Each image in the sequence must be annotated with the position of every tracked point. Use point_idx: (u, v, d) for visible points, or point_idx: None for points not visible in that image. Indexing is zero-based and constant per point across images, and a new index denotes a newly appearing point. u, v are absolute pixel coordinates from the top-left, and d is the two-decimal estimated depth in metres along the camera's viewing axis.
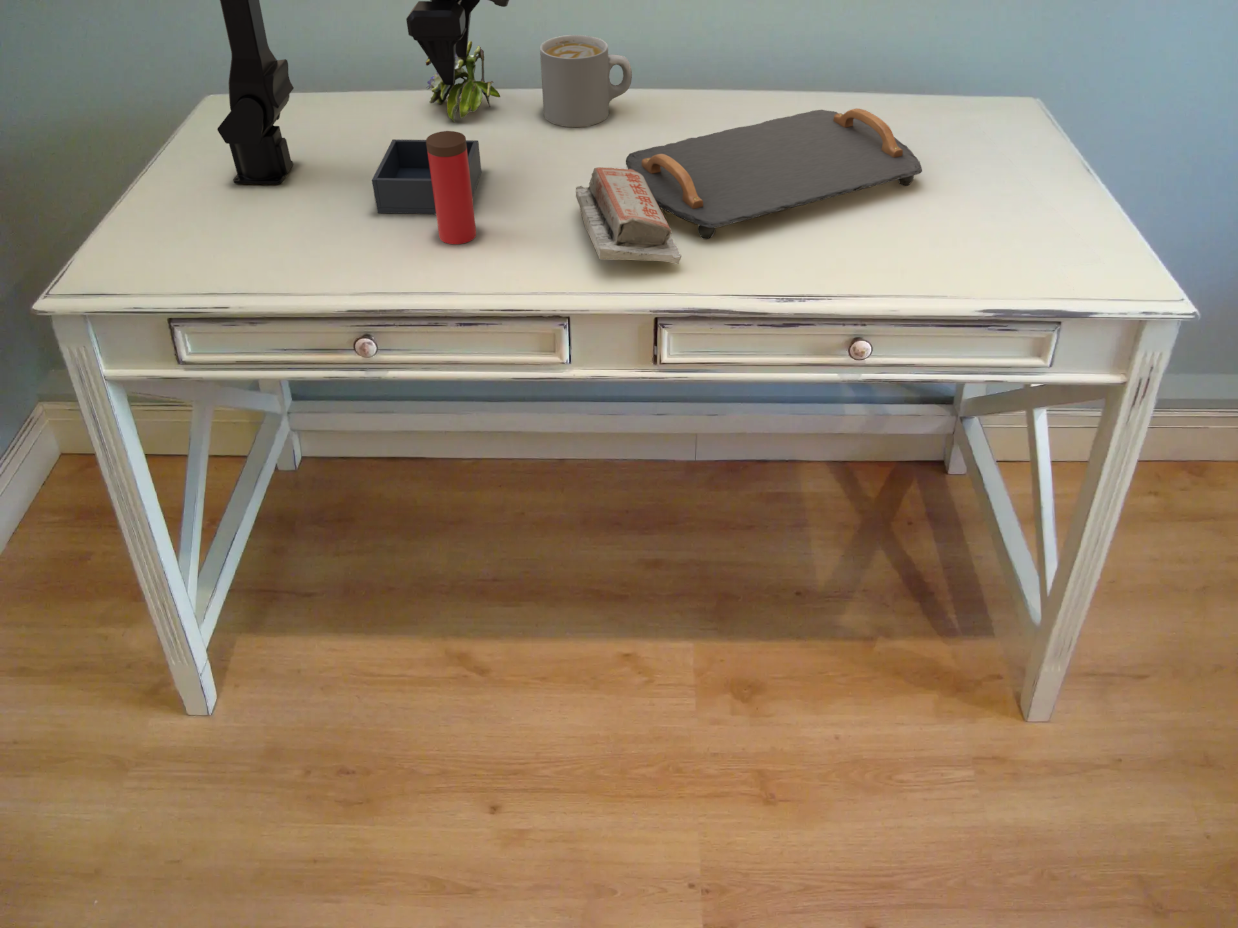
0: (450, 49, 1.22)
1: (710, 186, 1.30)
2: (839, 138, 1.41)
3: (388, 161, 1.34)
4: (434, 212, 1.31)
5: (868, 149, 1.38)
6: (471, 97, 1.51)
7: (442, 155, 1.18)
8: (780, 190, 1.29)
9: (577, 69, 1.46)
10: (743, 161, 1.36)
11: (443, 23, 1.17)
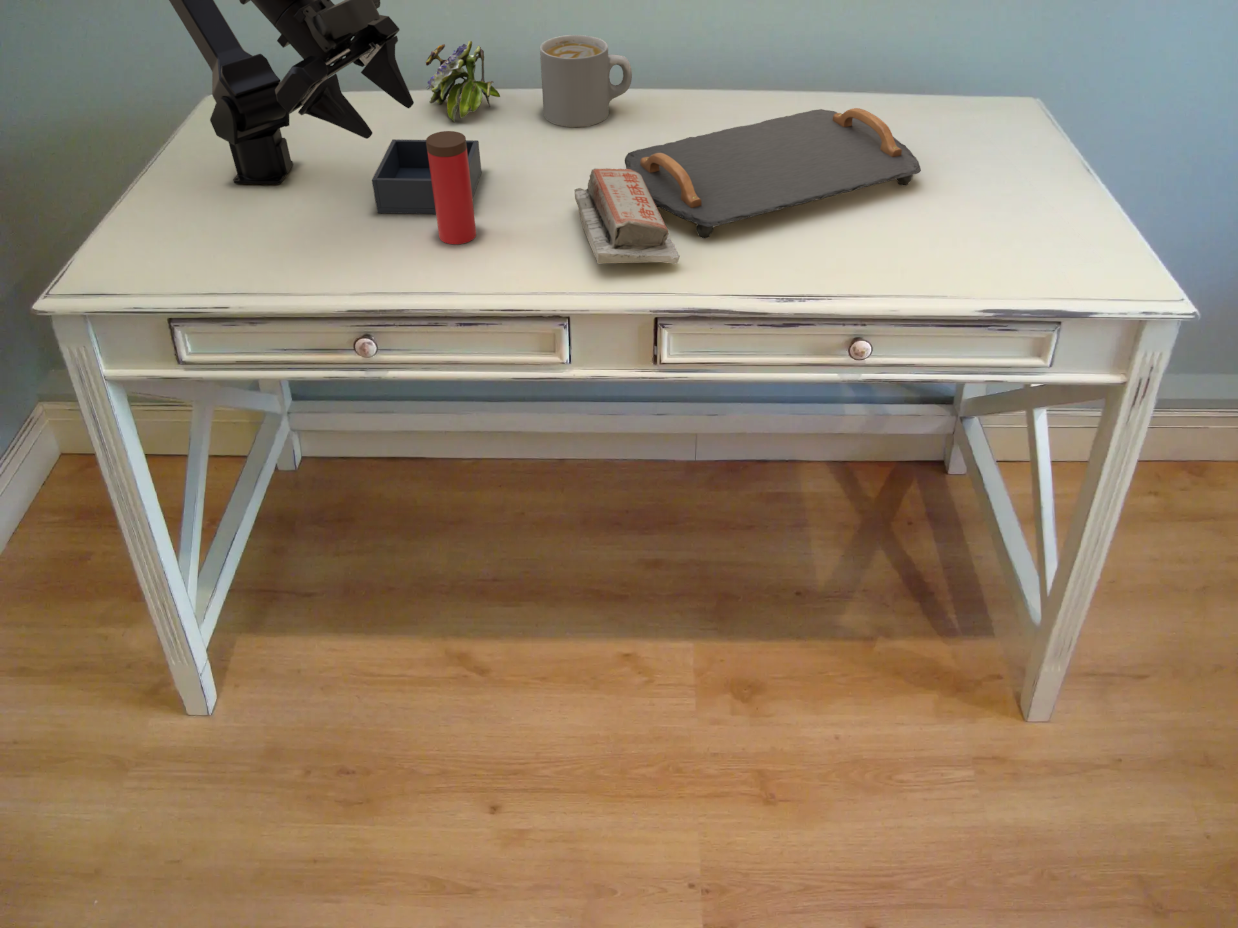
0: (335, 102, 1.15)
1: (708, 185, 1.31)
2: (838, 137, 1.41)
3: (388, 161, 1.34)
4: (434, 212, 1.31)
5: (867, 148, 1.38)
6: (471, 97, 1.51)
7: (442, 155, 1.18)
8: (778, 189, 1.29)
9: (577, 69, 1.46)
10: (742, 160, 1.36)
11: (293, 82, 1.11)
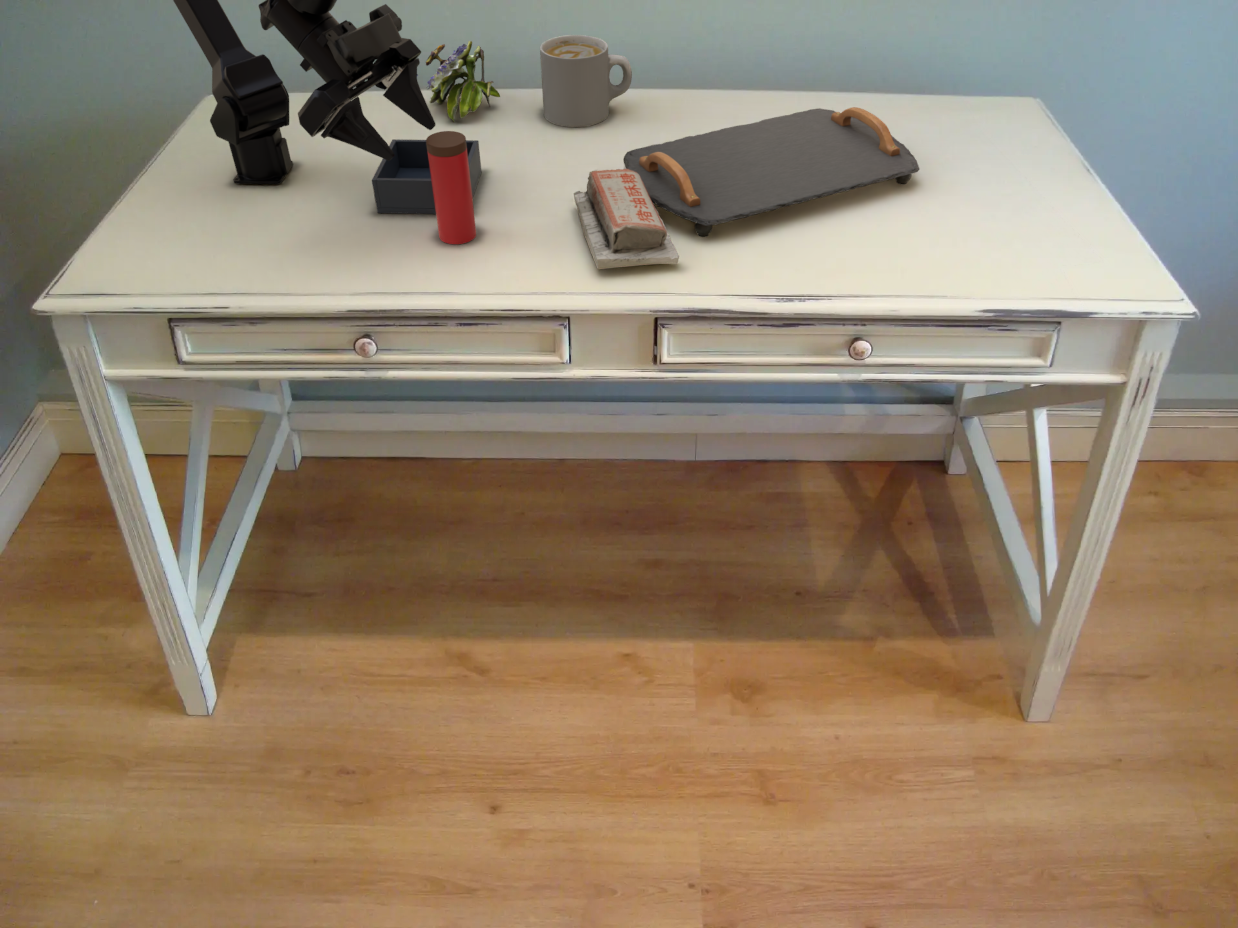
0: (358, 125, 1.15)
1: (707, 184, 1.31)
2: (837, 137, 1.41)
3: (388, 161, 1.34)
4: (434, 212, 1.31)
5: (865, 147, 1.39)
6: (471, 97, 1.51)
7: (442, 155, 1.18)
8: (777, 188, 1.30)
9: (577, 69, 1.46)
10: (740, 159, 1.36)
11: (316, 105, 1.11)
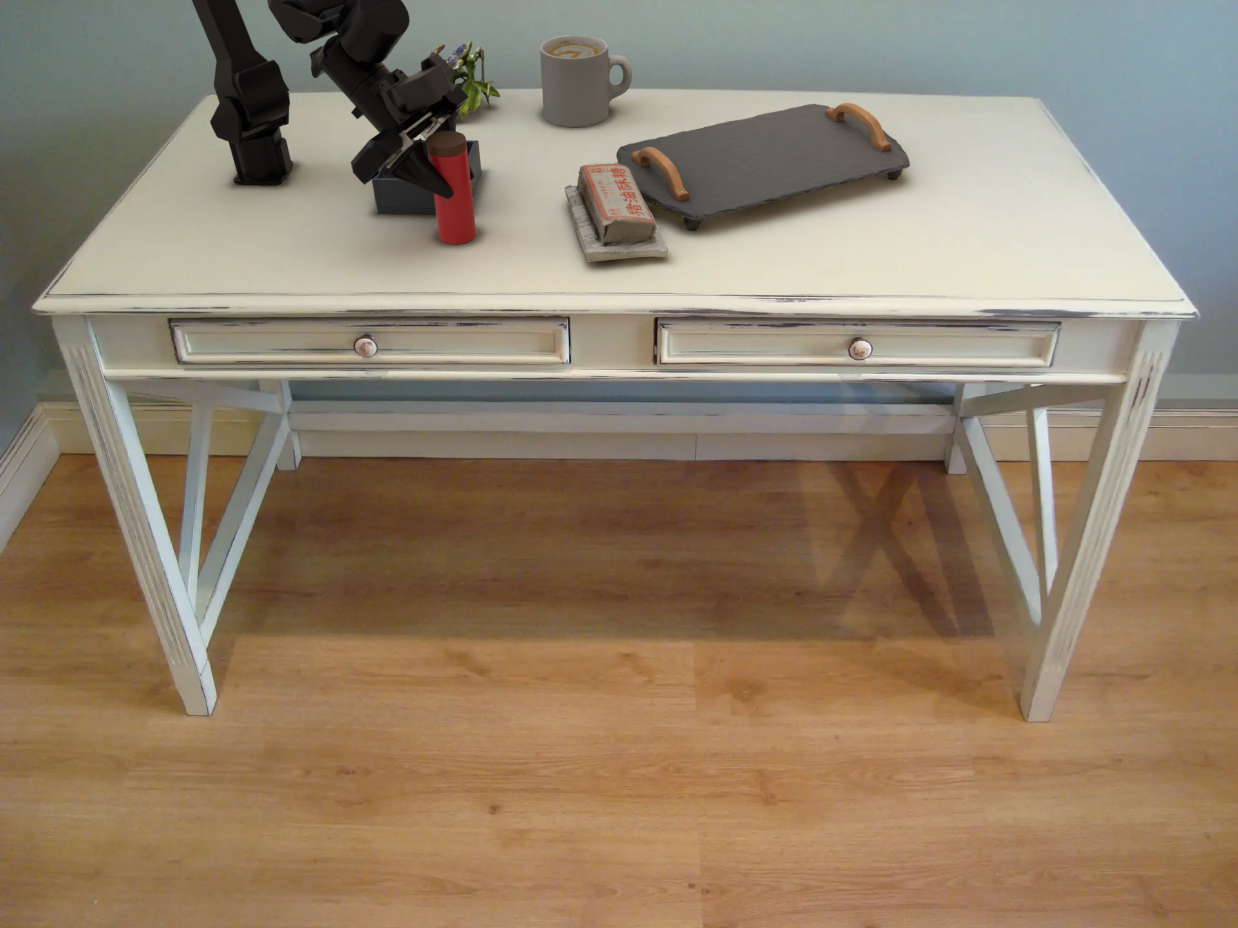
0: (420, 165, 1.18)
1: (698, 179, 1.32)
2: (829, 132, 1.42)
3: None
4: (434, 212, 1.31)
5: (857, 143, 1.39)
6: (471, 97, 1.51)
7: (442, 155, 1.18)
8: (767, 183, 1.31)
9: (577, 69, 1.46)
10: (732, 154, 1.37)
11: (370, 155, 1.13)
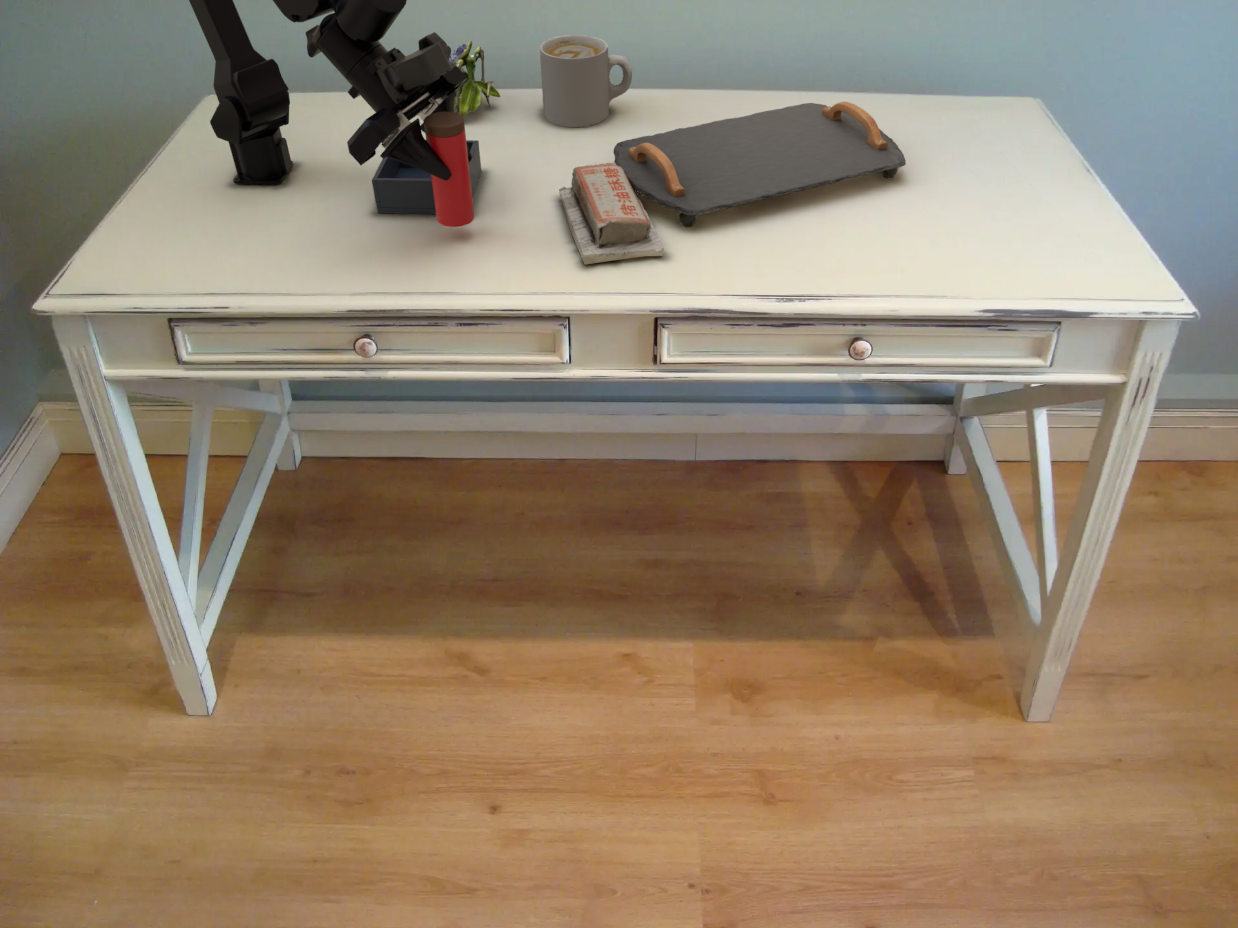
0: (417, 146, 1.16)
1: (694, 175, 1.33)
2: (826, 130, 1.43)
3: (388, 161, 1.34)
4: (434, 212, 1.31)
5: (853, 141, 1.40)
6: (471, 97, 1.51)
7: (440, 135, 1.16)
8: (762, 180, 1.31)
9: (577, 69, 1.46)
10: (729, 151, 1.38)
11: (367, 134, 1.11)
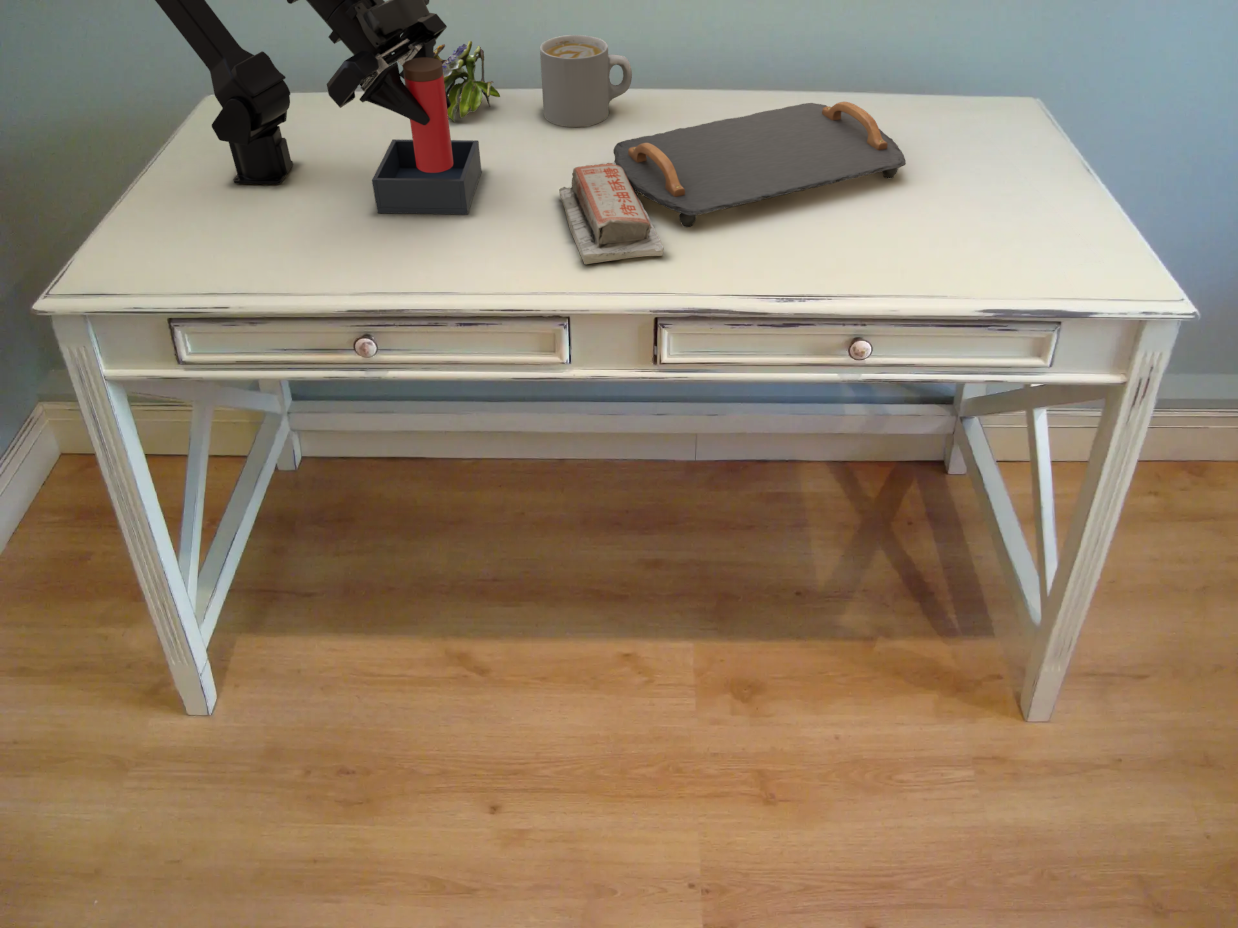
0: (396, 89, 1.19)
1: (694, 175, 1.33)
2: (826, 130, 1.43)
3: (388, 161, 1.34)
4: (434, 212, 1.31)
5: (853, 141, 1.40)
6: (471, 97, 1.51)
7: (418, 80, 1.19)
8: (762, 180, 1.31)
9: (577, 69, 1.46)
10: (729, 151, 1.38)
11: (345, 76, 1.14)
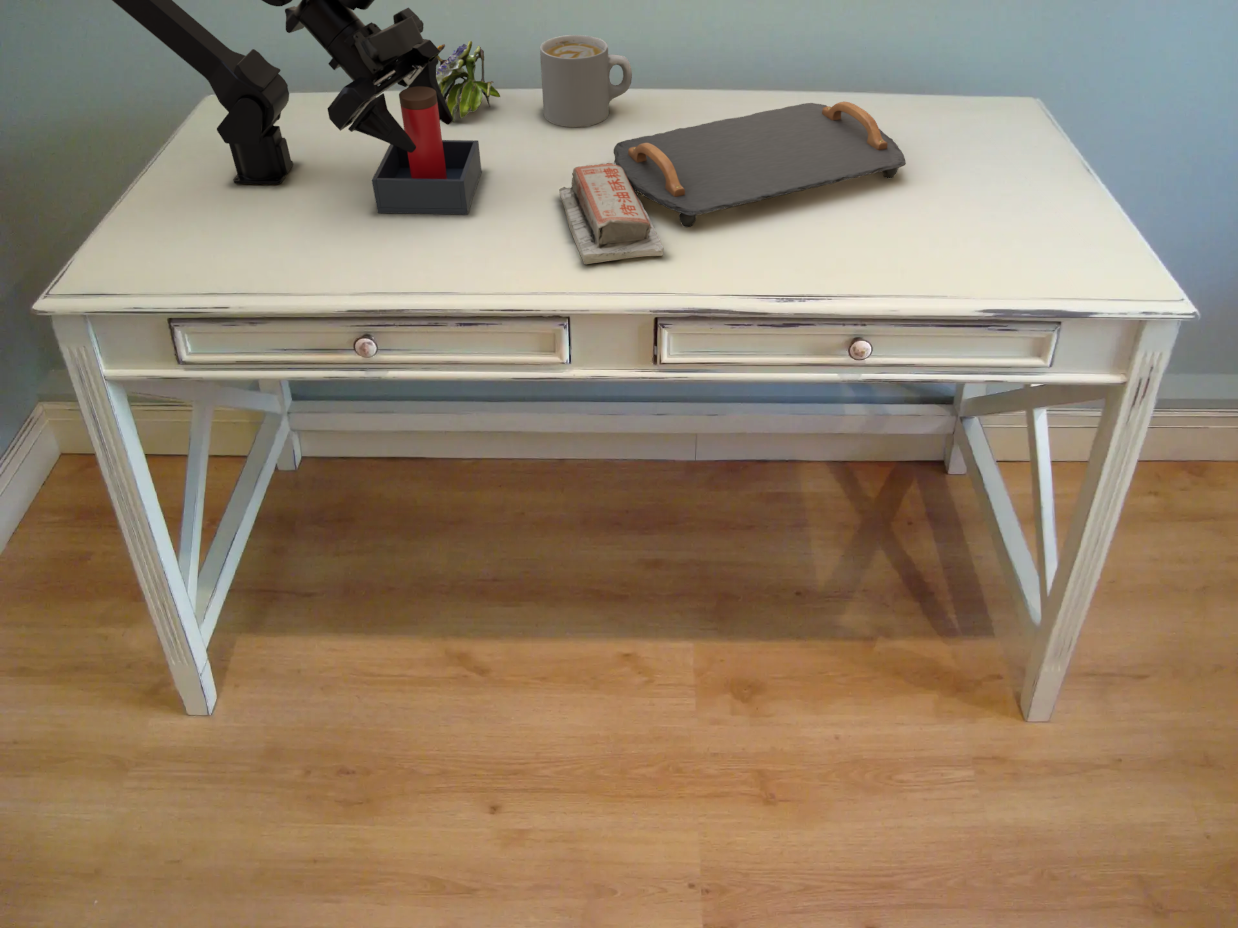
0: (383, 119, 1.24)
1: (694, 175, 1.32)
2: (826, 130, 1.43)
3: (388, 161, 1.34)
4: (434, 212, 1.31)
5: (853, 141, 1.40)
6: (471, 97, 1.51)
7: (413, 108, 1.26)
8: (762, 180, 1.31)
9: (577, 69, 1.46)
10: (729, 151, 1.38)
11: (345, 101, 1.21)
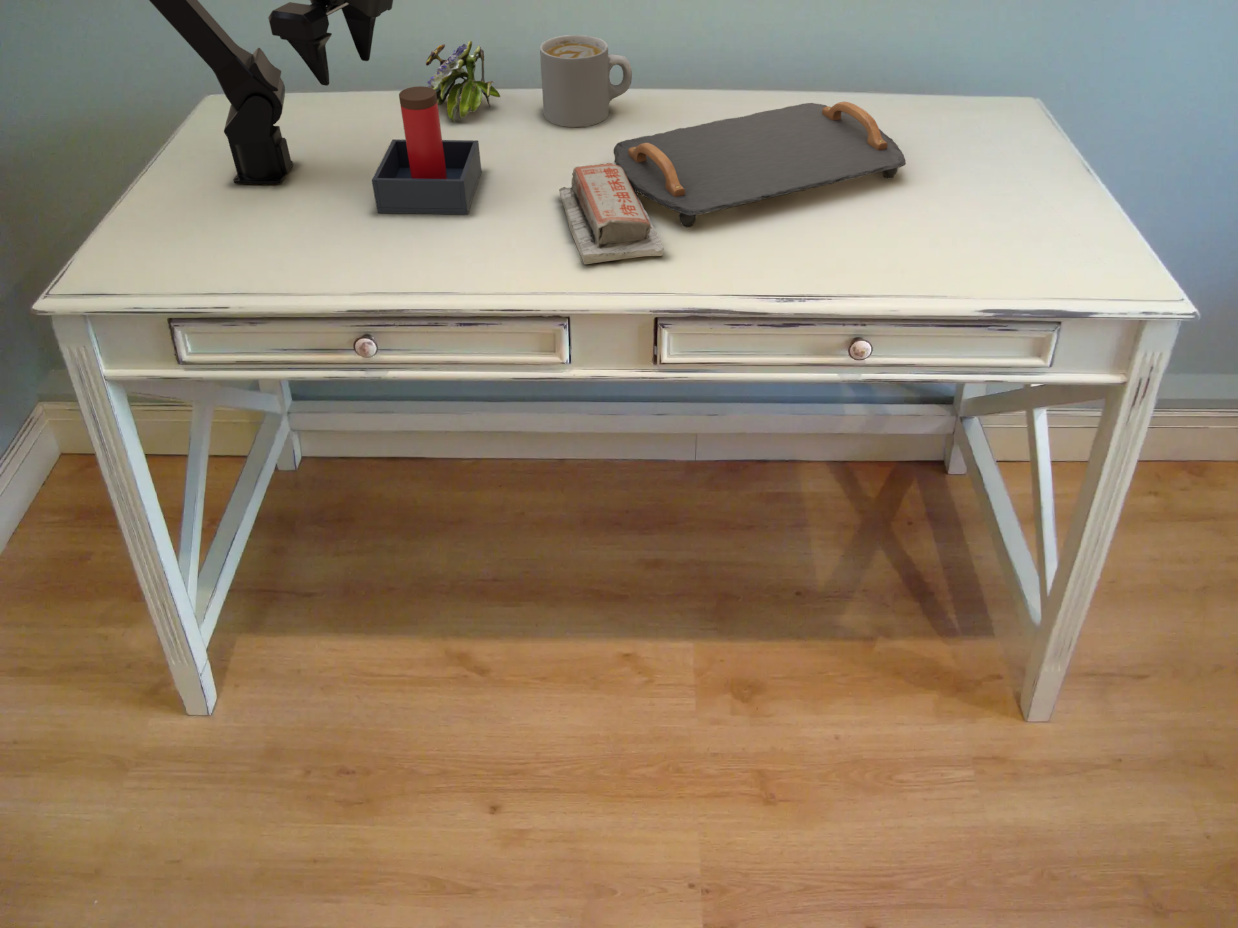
0: (316, 51, 1.26)
1: (694, 175, 1.33)
2: (826, 130, 1.43)
3: (388, 161, 1.34)
4: (434, 212, 1.31)
5: (853, 141, 1.40)
6: (471, 97, 1.51)
7: (413, 108, 1.26)
8: (762, 180, 1.31)
9: (577, 69, 1.46)
10: (729, 151, 1.38)
11: (296, 26, 1.21)
